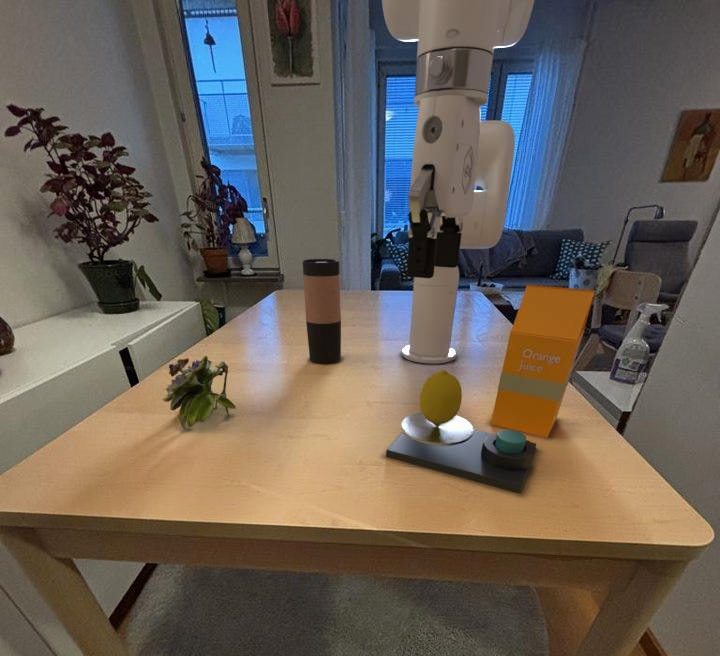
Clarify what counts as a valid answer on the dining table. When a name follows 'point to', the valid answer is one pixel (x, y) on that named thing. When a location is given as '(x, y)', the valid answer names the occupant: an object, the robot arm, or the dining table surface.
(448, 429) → the scale pan
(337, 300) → the travel mug
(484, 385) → the dining table surface
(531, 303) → the orange juice
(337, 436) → the dining table surface
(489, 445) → the scale
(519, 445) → the tare button
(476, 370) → the dining table surface
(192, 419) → the purple flowering plant
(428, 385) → the lemon
